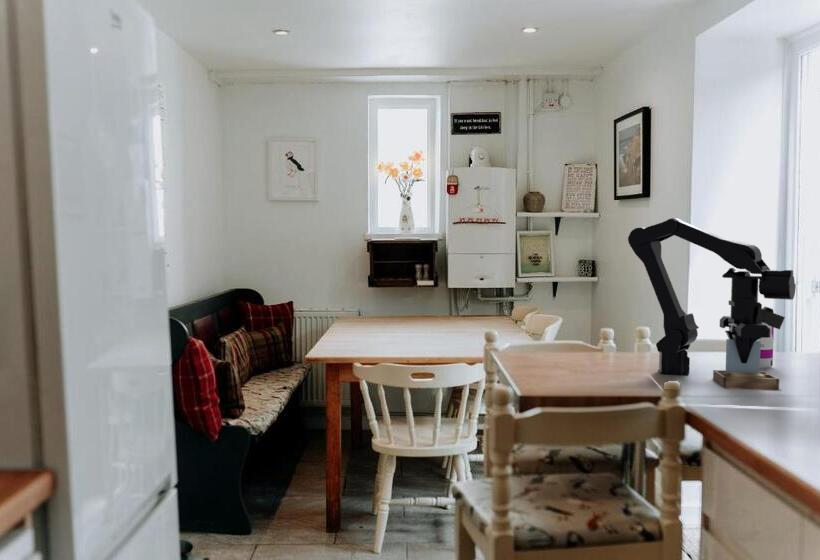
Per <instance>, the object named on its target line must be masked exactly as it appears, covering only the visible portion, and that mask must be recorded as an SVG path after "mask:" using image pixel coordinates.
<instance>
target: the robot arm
mask: <svg viewBox="0 0 820 560" xmlns="http://www.w3.org/2000/svg"><path fill="white" fill-rule="evenodd" d="M674 236H675V237H678V238H680V239H683V240H685V241H687V242H690V243H692V244H694V245H697V246H699V247H701V248H703V249H705V250H707V251H710V252H712V253H715V254H716V255H717V256H719V257H720V258H721V259H722V260H723V261H725V262H726V263H728V264H729V265H731V266H732V267H730V268H728V270H727V271H726V272H725V273H723V274H722V275H721V277H722V278H723V279H724V278H725V279H731V290H730V291H731V292H730V293H731V297H730V300H728V305H729V306H730V315H723V316H722V317H721V318H720V319H719V327H720V328H721V329H725V328H728V330H724V332H725V333H726V336H727V339H734V342H735V345H736V348H737V351H738V354H739V357H740V360H741V363H747V361H748V358H749V355H750V352H751V349H752V346H753V344H754V342H755V341H757V340H758V339H760V338H770V328H768V327H767V326H766V325H764V324H762V322H763V323H766V324H768V325H769V326H772V327H774V329H777V330H781V327H782V325H783V323H784V321H785V318H786V316H783V315H780V314H778V313H775V312H774V309H773V308H771V307H768V306H763V304H762V303H761V301H760V302H759V294H760V295H762V296H763V298H764V299H770V300H771V299H772V300H789V301H790V300H791V301H792V300H794V298H795V295H796V287H797V286H796V285H797V284H796V283H795V282H796V281H795V277H794V270H793V269H784V270H777V269H776V270H774V269H773V270H772V269H770V267H769V266H768V265H767V263H766V262H765V261H764V260H763V259H762V252H761V250H760V248H759V247H758V246H756V245H755V244H750V243H746V242H741V241H737V240H736V241H735V240H731V239H726V238H724V237H721V236H718V235H716V234H714V233H712V232H710V231H707V230H704V229H703V228H700V227H697V226H696V225H692V224H690V223H688V222H685V221H684V220H682V219H680V218H677V217H676V218H674V217H673V218H668V219H666V220H665V221H662V222H659V223H657V224H653V225H649V226H647V227H635V228H634V229H632V230H631V231H630V232H629V234H628V236H627V242H628V244H629V246H630V248H631V249H632V252H633V253H634V254H635V256H636V257H637V258H638V259H639V260H640V261H641V263H643V265H644V268H645V270H646V273H647V276H648V278H649V280H650V283H651V285H652V286H651V287H652V288H653V291H654V294H655V296H656V298H657V301H658V304H659V306H660V309H661V311H662V315H663V325H662V327H663V330H664V331H663V332H664V336H663V337H662V338H661V339H660V340H658V341H657V342H656V343H655V346H656V349H657V352H658V354H659V356H658V357H659V358H658V364H659V365H658V369H657V371H658V372H659V373H660V375H661V376H662V375H663V376H685V377H686V376H689V374H690V364H691V363H690V362H691V361H690V357H689V356H688V351H687V350H689V349H690V346H691V344H693V343H694V342H695V341H696V340H697V338H698V334H699V333H698V329H699V326H698V325H697V323H696V321H695V317H694V313H692V312H691V313H686V312H685V311H684V310H683V308H682V306H681V304H680V301H679V298H678V297H677V294H676V292H675V289H674V287H673V284H672V282H671V278H670V277H669V273H668V271H667V269H666V267H665V264H664V261H663V259H662V244H661V243H662V242H663V241H666V240H668V239H670V238H671V237H674ZM735 268H736V269H739V271H738V270H736V269H735ZM742 270H743V271H742ZM744 270H746V271H744ZM751 274H752V275H751Z"/></svg>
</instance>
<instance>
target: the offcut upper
mask: <svg viewBox="0 0 820 560" xmlns="http://www.w3.org/2000/svg"><path fill="white" fill-rule="evenodd" d="M730 377H747V378H765V376H764V375H762V374H760V373H742V372H731V376H730Z"/></svg>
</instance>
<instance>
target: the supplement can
mask: <svg viewBox="0 0 820 560" xmlns="http://www.w3.org/2000/svg"><path fill="white" fill-rule="evenodd" d="M762 324H764V325H766V326H767V327H768V328H770V338H760V339H758V340H759V341H760V369H769V368H772V367H773V366H774V364H773V363H774V335H775V334H774V333H775V332H774V330H775V328H774V327H772V326H769V325H768V324H766V323H763V322H762Z"/></svg>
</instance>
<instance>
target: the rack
mask: <svg viewBox="0 0 820 560" xmlns="http://www.w3.org/2000/svg"><path fill="white" fill-rule="evenodd" d="M712 372H713V373H712V378H711V379H712V380H713V381H715V382H716V383H717V384H718V385H720V386H721V387H722V388H724V389H730V390H731V389H732V390H733V389H736V390H763V391H765V390H766V391H782V389H780V378H778V377H776V376H775V375H773V374H772V373H770V372H768V371H763V370H761V371H759V373H760V374H762V375H764V376H765V378H747V377H730V376H731V373H726V369H725V370H722V369H721V370H719V369H713V371H712Z"/></svg>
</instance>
